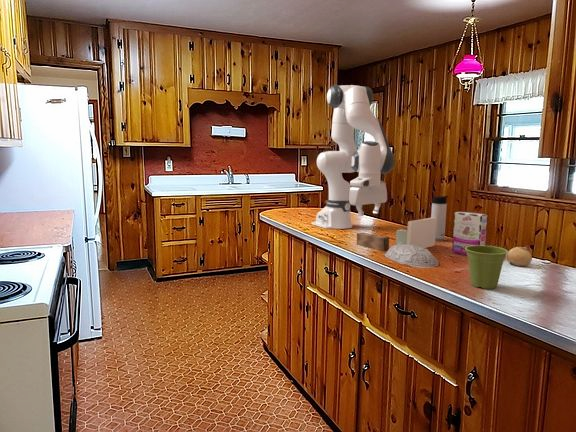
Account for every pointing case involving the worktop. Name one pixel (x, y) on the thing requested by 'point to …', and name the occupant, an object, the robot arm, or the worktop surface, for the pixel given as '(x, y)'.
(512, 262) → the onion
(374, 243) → the rail
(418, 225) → the post block
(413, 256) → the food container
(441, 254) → the worktop surface
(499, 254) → the plant pot
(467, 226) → the candy bar box
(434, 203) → the travel mug
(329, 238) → the worktop surface
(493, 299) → the worktop surface
